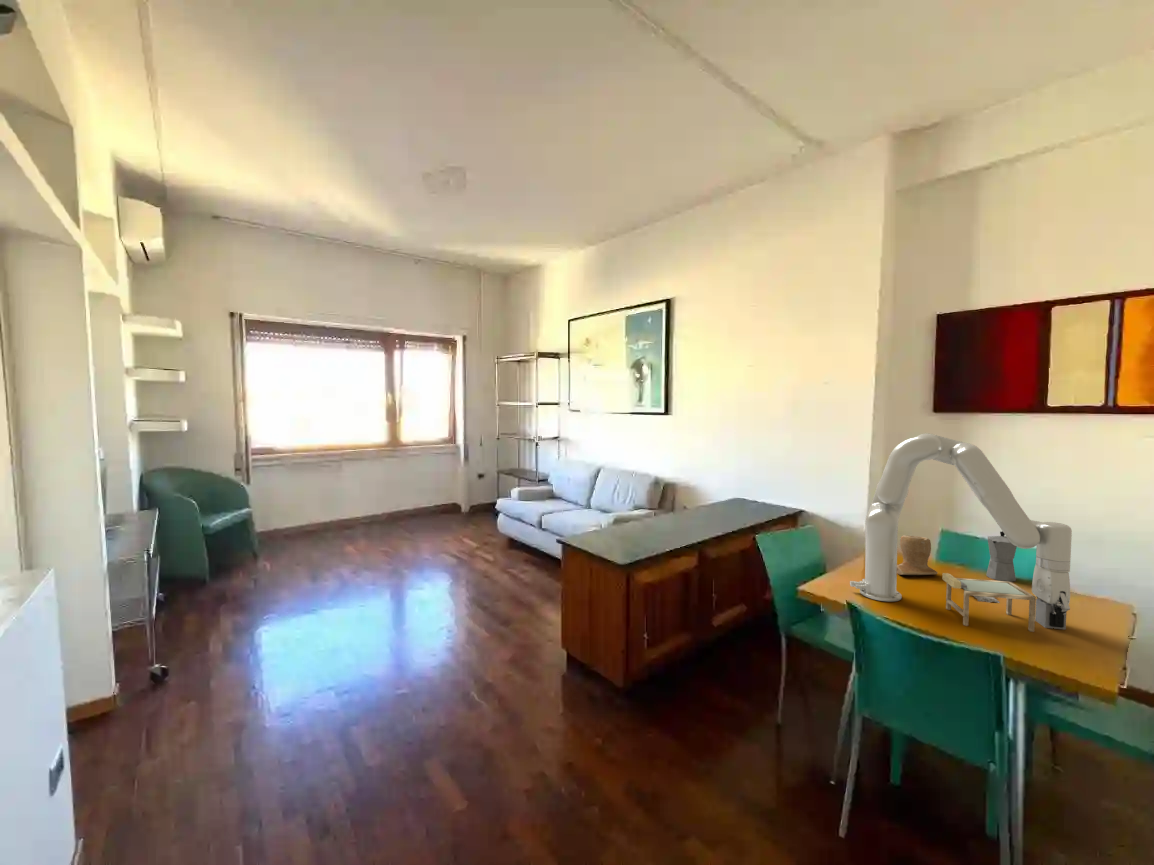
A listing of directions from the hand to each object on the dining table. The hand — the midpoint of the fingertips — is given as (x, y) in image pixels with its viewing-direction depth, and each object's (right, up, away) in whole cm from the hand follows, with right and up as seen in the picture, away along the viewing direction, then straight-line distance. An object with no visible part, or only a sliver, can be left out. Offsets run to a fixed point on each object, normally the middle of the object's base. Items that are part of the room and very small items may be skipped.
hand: (1050, 621), depth 152 cm
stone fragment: (-1, 0, +30) cm, 30 cm away
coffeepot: (+20, +2, +41) cm, 45 cm away
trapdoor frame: (-15, -1, +4) cm, 16 cm away
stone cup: (-11, +1, +47) cm, 48 cm away
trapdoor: (-17, +9, +4) cm, 20 cm away
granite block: (0, -1, 0) cm, 1 cm away
